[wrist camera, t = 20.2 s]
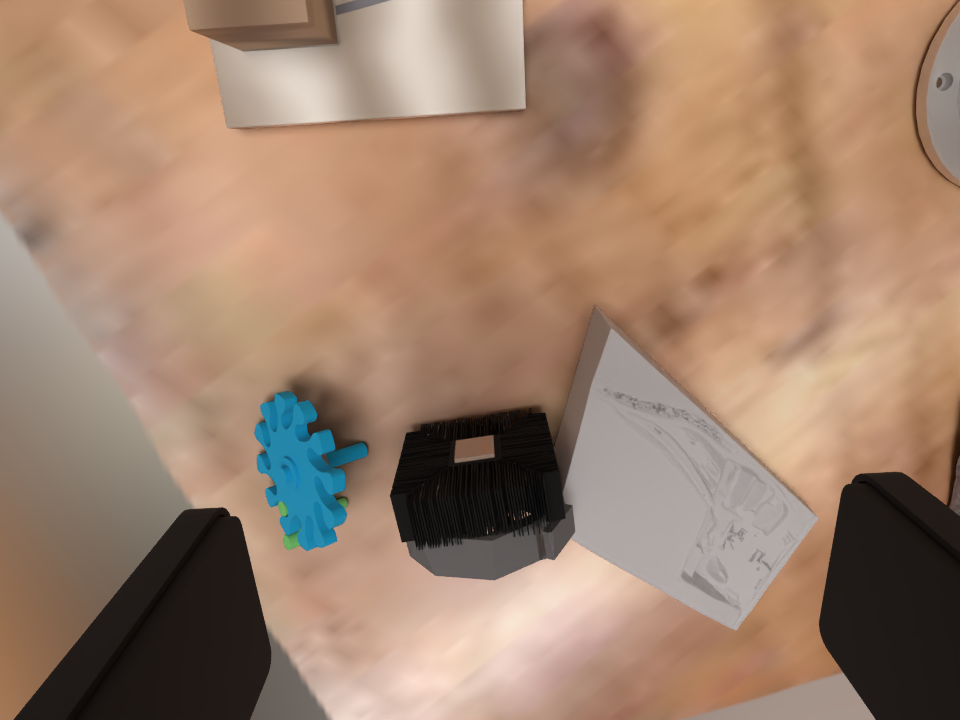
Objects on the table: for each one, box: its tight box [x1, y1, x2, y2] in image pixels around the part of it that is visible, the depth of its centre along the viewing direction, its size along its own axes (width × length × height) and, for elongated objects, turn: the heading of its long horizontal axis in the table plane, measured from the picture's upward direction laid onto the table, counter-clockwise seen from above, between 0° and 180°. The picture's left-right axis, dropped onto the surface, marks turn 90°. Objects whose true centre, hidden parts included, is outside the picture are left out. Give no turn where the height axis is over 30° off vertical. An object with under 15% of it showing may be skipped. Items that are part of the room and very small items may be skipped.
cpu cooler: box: [390, 408, 575, 580], centre depth 36 cm, size 10×6×10 cm, turn 99°
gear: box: [254, 391, 368, 551], centre depth 38 cm, size 11×6×10 cm
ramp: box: [554, 305, 818, 631], centre depth 39 cm, size 28×16×5 cm, turn 29°
